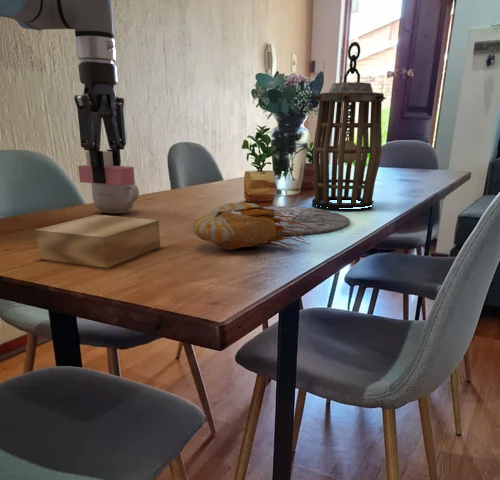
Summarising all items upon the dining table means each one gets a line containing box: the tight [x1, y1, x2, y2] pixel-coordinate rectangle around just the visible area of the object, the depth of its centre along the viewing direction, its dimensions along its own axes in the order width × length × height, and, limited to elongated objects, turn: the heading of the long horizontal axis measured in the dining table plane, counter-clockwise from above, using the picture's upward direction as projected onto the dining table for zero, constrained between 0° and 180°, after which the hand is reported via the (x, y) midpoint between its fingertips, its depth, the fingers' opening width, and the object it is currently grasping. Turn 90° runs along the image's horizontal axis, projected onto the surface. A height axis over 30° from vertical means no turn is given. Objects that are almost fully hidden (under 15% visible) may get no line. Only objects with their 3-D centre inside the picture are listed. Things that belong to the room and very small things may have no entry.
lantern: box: [311, 41, 387, 213], centre depth 133 cm, size 19×19×40 cm
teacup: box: [90, 181, 140, 214], centre depth 127 cm, size 14×11×8 cm
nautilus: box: [192, 202, 311, 252], centre depth 93 cm, size 8×22×15 cm
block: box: [35, 214, 161, 269], centre depth 90 cm, size 14×16×5 cm
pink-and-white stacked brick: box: [77, 150, 136, 186], centre depth 111 cm, size 12×5×6 cm, turn 67°
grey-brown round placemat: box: [264, 205, 351, 237], centre depth 121 cm, size 33×35×1 cm
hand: (107, 181), depth 112 cm, fingers closed on pink-and-white stacked brick, 5 cm apart
